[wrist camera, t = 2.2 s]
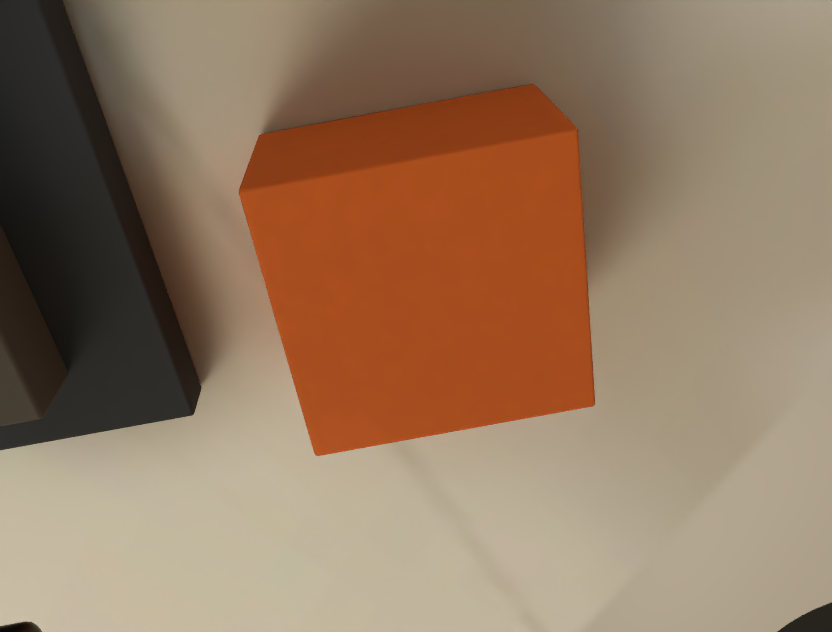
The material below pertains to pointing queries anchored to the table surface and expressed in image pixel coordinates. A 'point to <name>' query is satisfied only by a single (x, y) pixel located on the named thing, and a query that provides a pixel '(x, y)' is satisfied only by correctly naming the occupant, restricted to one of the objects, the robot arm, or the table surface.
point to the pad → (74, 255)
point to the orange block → (426, 266)
